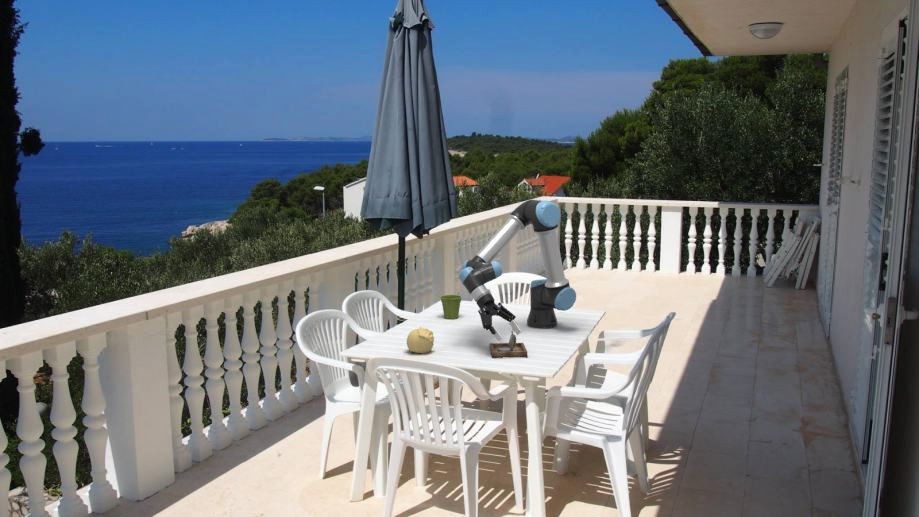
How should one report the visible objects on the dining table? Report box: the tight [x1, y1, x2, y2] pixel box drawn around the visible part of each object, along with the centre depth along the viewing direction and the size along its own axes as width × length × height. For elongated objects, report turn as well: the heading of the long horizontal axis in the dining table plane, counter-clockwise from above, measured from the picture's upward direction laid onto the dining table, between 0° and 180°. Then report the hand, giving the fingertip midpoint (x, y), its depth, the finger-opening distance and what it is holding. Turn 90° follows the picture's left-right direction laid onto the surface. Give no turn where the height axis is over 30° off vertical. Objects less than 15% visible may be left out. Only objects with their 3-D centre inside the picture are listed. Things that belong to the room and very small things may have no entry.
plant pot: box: [439, 294, 463, 320], centre depth 395 cm, size 12×12×11 cm
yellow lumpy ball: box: [406, 326, 435, 354], centre depth 331 cm, size 12×12×11 cm
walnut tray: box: [489, 342, 528, 359], centre depth 327 cm, size 15×15×2 cm
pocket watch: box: [497, 329, 517, 352], centre depth 326 cm, size 8×8×10 cm
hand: (509, 336), depth 326 cm, fingers open, 13 cm apart
